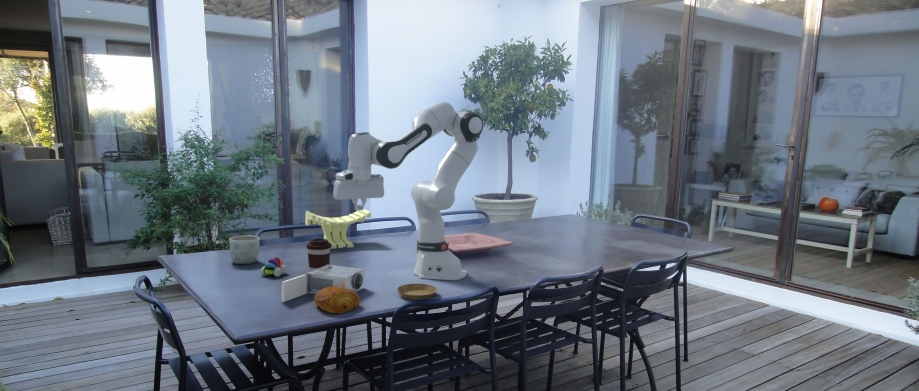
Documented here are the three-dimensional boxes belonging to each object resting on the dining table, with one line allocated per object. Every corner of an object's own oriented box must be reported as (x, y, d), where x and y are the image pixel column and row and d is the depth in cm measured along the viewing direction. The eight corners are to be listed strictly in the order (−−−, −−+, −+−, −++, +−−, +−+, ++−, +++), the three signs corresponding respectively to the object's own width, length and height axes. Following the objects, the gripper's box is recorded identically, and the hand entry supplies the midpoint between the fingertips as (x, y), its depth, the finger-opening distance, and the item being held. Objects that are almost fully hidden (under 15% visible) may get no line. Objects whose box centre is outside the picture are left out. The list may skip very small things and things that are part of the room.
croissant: (324, 323, 179) (325, 300, 177) (309, 303, 191) (309, 282, 189) (366, 315, 187) (367, 293, 185) (348, 296, 199) (349, 275, 197)
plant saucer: (445, 296, 205) (445, 289, 204) (416, 304, 194) (416, 297, 193) (417, 287, 214) (417, 281, 214) (388, 295, 203) (388, 288, 203)
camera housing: (366, 288, 210) (367, 268, 210) (347, 298, 197) (348, 277, 196) (327, 283, 216) (327, 263, 215) (306, 292, 203) (306, 272, 202)
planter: (223, 264, 241) (223, 239, 239) (241, 258, 253) (240, 234, 251) (248, 266, 238) (248, 241, 237) (265, 260, 250) (265, 236, 248)
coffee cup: (305, 273, 229) (305, 238, 227) (329, 272, 233) (329, 237, 231) (307, 279, 220) (307, 243, 218) (333, 278, 223) (333, 241, 222)
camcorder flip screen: (284, 302, 191) (284, 281, 190) (280, 301, 191) (280, 281, 191) (309, 292, 202) (309, 273, 201) (305, 292, 203) (305, 272, 202)
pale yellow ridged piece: (361, 239, 301) (361, 207, 299) (370, 245, 287) (370, 211, 285) (305, 243, 287) (305, 209, 285) (312, 250, 273) (311, 214, 271)
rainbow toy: (289, 273, 230) (289, 256, 229) (276, 279, 220) (276, 261, 219) (272, 271, 232) (271, 254, 231) (258, 277, 222) (257, 259, 222)
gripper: (379, 173, 221) (379, 207, 222) (331, 174, 209) (331, 210, 210) (387, 174, 216) (386, 209, 217) (338, 176, 204) (338, 213, 205)
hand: (359, 210), depth 214 cm, fingers closed
